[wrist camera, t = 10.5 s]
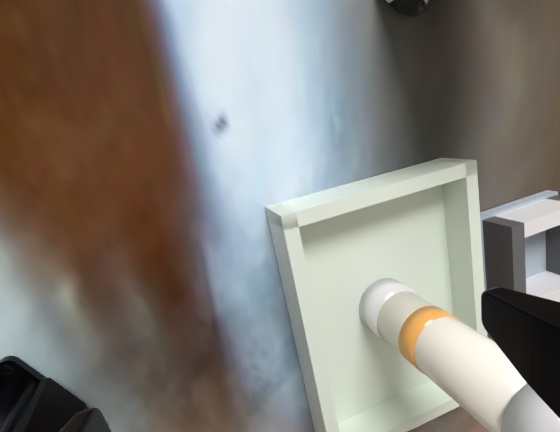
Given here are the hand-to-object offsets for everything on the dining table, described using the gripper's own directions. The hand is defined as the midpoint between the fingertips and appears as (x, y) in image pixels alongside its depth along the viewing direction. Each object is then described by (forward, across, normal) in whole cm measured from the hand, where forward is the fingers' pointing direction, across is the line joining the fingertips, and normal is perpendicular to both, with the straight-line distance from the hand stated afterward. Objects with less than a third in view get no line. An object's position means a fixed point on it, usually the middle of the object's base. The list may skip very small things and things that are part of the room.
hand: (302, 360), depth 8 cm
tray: (+13, -7, +9) cm, 17 cm away
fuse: (+12, -7, +9) cm, 16 cm away
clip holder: (+15, -18, +9) cm, 25 cm away
